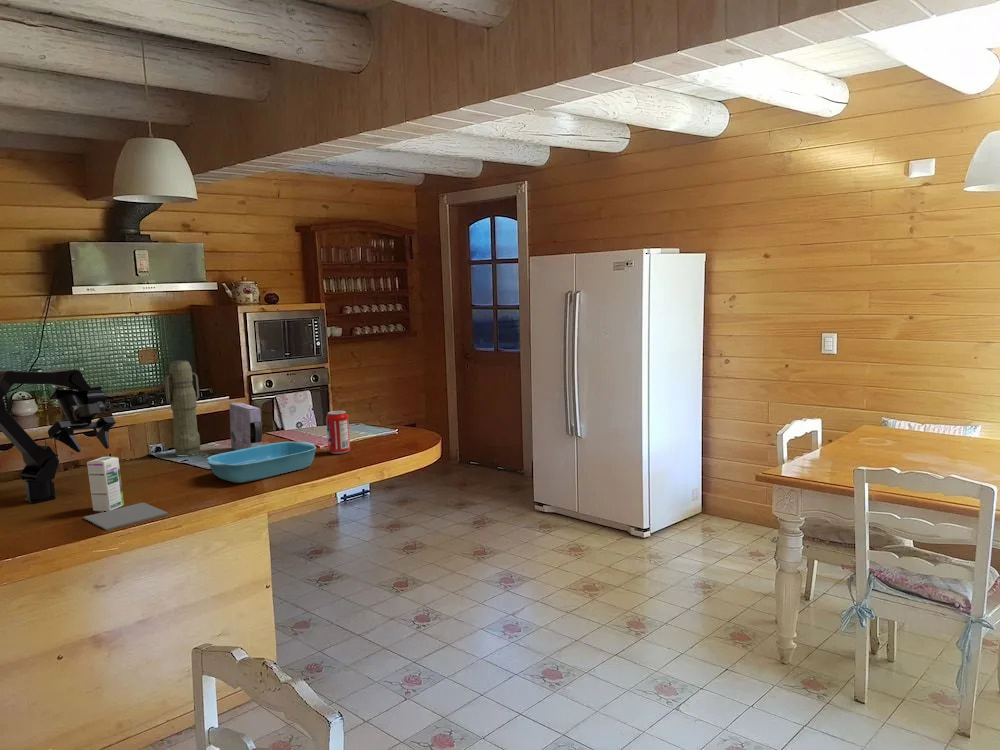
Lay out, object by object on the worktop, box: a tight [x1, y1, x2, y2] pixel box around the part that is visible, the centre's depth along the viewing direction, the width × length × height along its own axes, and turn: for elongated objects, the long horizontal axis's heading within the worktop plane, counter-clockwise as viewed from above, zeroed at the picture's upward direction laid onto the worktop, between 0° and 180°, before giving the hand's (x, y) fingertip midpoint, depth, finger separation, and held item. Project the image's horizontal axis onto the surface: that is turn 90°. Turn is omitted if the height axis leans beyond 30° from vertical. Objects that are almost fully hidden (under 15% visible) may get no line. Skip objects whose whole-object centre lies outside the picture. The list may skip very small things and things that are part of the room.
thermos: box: [163, 359, 201, 455], centre depth 272 cm, size 9×12×35 cm
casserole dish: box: [206, 441, 317, 484], centre depth 244 cm, size 37×22×7 cm, turn 138°
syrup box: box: [86, 456, 125, 512], centre depth 208 cm, size 6×6×14 cm
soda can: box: [325, 410, 351, 455], centre depth 267 cm, size 8×8×15 cm
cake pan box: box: [228, 402, 263, 451], centre depth 274 cm, size 19×5×18 cm, turn 42°
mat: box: [83, 502, 169, 531], centre depth 201 cm, size 16×16×1 cm
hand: (93, 449), depth 223 cm, fingers open, 9 cm apart
